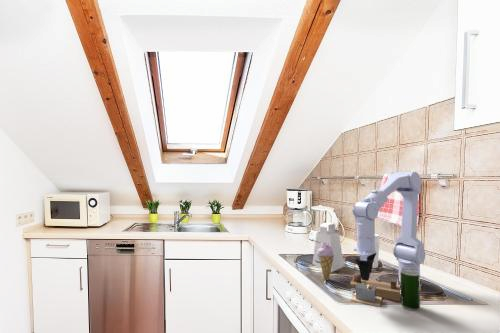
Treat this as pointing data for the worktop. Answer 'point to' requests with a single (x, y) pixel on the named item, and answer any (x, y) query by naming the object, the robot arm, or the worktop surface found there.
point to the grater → (333, 240)
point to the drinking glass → (375, 263)
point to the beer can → (410, 288)
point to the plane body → (380, 287)
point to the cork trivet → (377, 302)
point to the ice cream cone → (325, 259)
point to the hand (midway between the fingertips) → (366, 276)
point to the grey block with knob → (366, 292)
